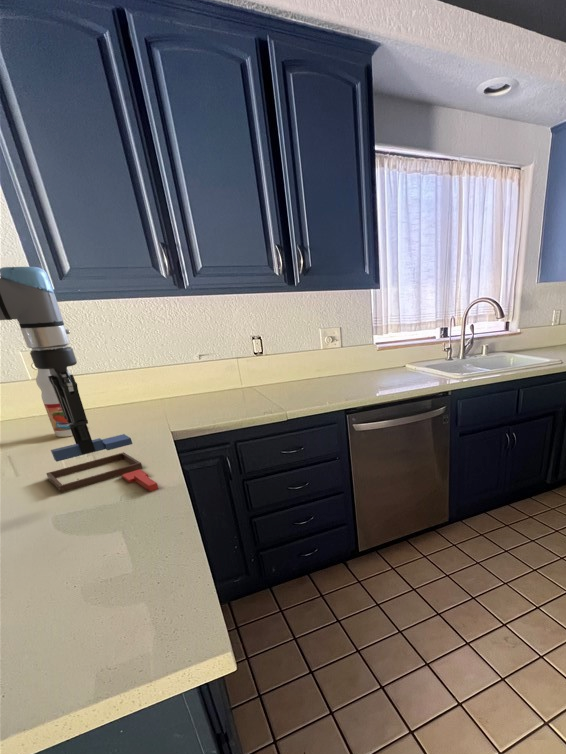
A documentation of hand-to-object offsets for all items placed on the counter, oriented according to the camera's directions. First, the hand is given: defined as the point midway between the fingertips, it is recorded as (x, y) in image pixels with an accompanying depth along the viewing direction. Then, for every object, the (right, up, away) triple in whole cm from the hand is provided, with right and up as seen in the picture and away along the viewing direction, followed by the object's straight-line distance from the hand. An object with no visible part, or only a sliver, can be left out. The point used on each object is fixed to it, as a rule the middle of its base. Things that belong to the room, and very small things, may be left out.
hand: (86, 450), depth 101 cm
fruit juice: (-44, +10, +56) cm, 72 cm away
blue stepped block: (+1, 0, +1) cm, 1 cm away
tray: (-10, -6, +18) cm, 21 cm away
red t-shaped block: (+7, -8, +12) cm, 16 cm away
